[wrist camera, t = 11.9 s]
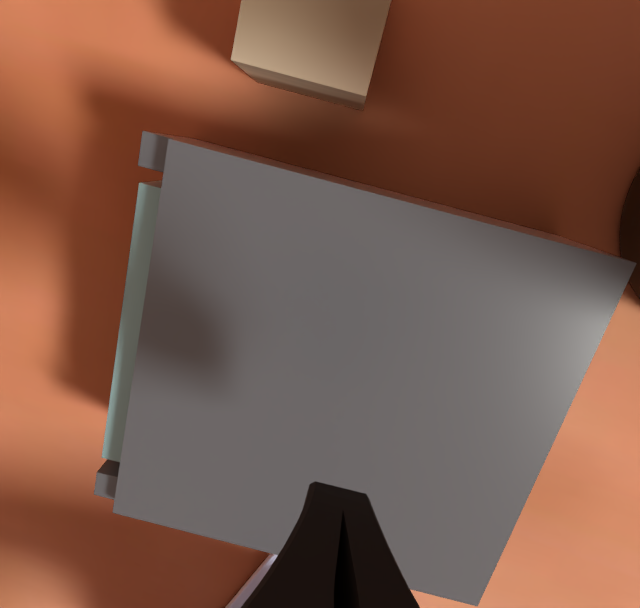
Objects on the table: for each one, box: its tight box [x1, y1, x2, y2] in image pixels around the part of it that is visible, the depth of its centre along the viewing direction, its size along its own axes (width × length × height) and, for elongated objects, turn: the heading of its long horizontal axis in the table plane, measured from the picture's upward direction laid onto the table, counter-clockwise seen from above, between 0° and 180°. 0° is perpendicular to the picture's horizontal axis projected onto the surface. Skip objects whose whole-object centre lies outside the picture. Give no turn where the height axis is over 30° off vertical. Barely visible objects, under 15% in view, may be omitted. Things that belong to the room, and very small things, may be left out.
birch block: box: [231, 0, 392, 111], centre depth 15 cm, size 4×4×4 cm
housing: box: [94, 131, 636, 606], centre depth 18 cm, size 13×14×5 cm
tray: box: [102, 180, 162, 462], centre depth 17 cm, size 10×12×3 cm
